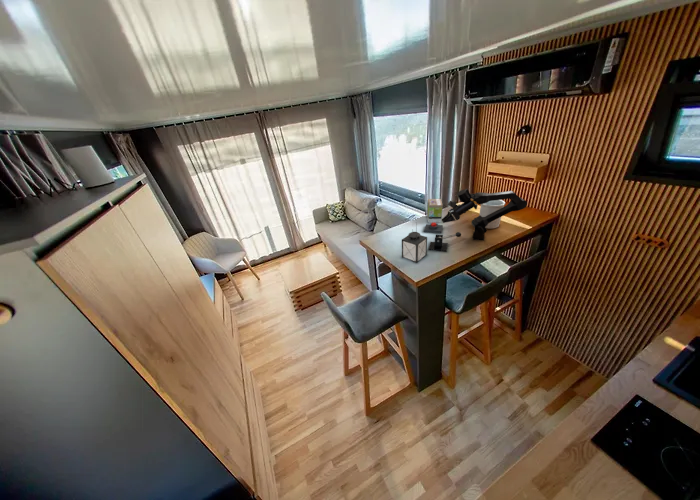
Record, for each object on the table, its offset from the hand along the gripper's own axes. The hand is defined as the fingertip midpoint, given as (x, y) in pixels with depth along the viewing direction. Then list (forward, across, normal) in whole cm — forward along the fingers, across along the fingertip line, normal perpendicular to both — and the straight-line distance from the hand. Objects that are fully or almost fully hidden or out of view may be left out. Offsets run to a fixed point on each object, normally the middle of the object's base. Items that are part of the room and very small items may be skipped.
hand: (442, 221), depth 164 cm
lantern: (+25, +15, +8) cm, 31 cm away
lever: (+2, +7, +11) cm, 13 cm away
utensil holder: (-25, -30, +24) cm, 46 cm away
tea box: (+5, -40, 0) cm, 40 cm away
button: (+7, -20, +2) cm, 21 cm away
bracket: (+11, +4, +13) cm, 17 cm away
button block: (+9, -21, +5) cm, 23 cm away
